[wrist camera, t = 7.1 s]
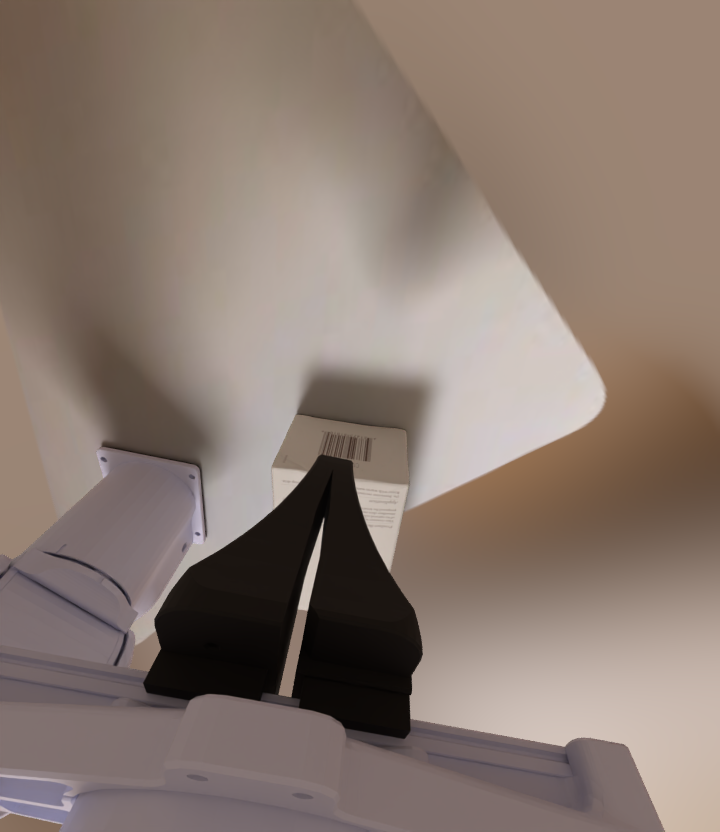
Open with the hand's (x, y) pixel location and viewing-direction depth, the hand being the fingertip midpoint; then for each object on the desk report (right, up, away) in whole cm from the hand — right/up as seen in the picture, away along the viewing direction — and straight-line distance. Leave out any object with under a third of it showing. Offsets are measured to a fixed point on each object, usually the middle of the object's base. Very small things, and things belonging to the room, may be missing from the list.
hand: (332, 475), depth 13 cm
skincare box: (0, +1, +7) cm, 7 cm away
